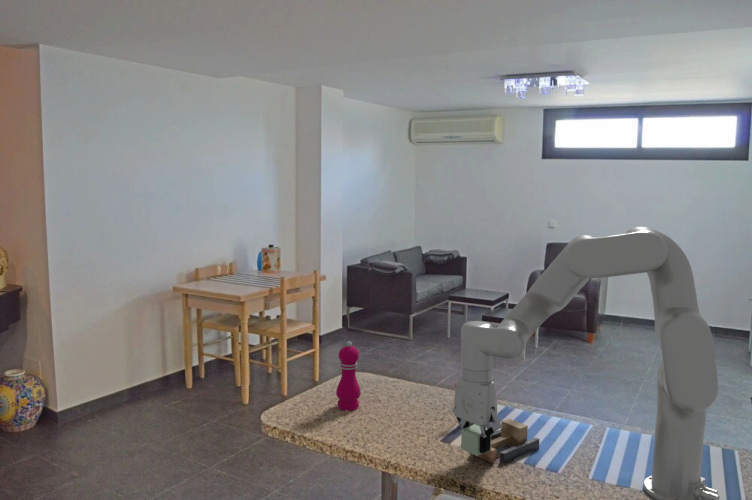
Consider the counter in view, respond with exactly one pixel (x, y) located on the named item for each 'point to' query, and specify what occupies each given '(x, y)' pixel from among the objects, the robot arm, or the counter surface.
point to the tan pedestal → (507, 438)
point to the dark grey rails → (516, 448)
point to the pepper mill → (348, 379)
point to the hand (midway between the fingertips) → (475, 446)
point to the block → (471, 439)
